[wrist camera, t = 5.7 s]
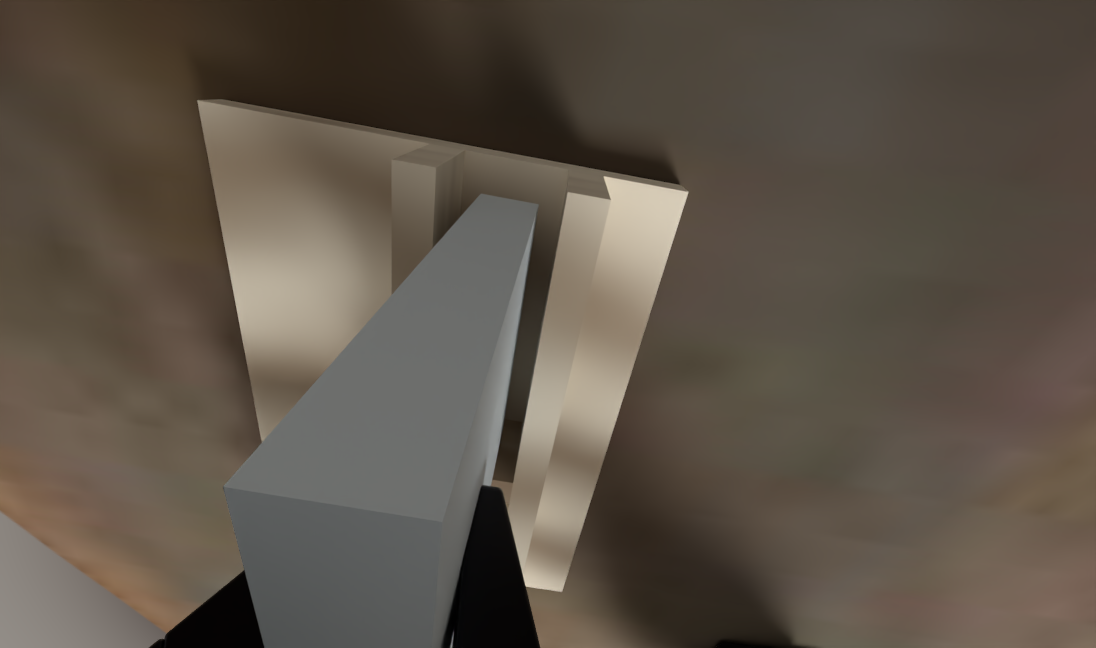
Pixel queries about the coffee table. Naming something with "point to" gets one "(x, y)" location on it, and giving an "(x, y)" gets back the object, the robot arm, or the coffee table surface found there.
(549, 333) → the rack
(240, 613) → the robot arm
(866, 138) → the coffee table surface
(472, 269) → the sheet
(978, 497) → the coffee table surface
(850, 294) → the coffee table surface
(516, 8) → the coffee table surface
